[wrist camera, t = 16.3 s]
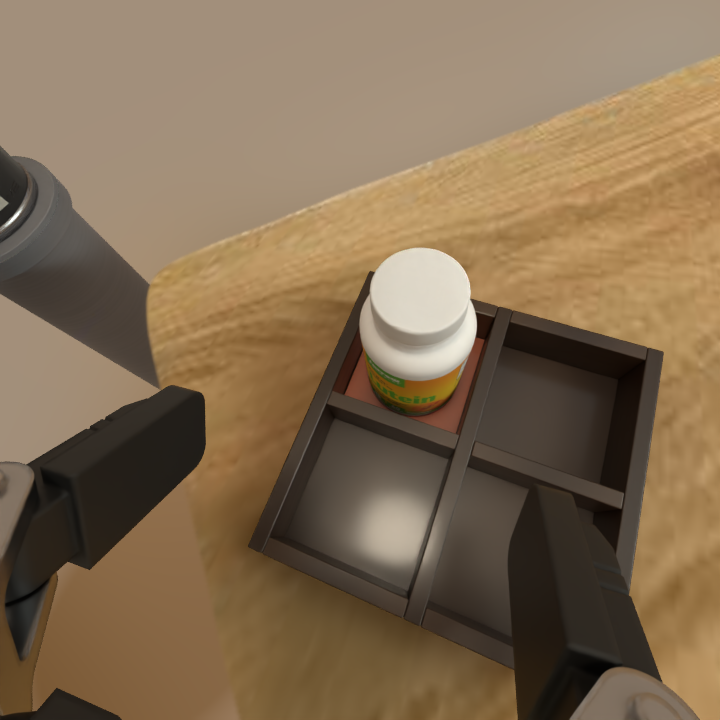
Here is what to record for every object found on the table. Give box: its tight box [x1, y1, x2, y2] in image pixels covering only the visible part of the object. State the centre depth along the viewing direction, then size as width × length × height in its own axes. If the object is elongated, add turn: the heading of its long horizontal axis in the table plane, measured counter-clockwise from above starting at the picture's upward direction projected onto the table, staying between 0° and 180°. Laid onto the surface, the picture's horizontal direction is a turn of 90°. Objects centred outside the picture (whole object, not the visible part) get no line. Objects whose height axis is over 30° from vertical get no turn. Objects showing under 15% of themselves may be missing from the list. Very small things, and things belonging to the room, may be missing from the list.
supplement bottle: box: [359, 248, 477, 416], centre depth 21 cm, size 5×5×10 cm
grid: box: [248, 271, 664, 670], centre depth 22 cm, size 16×16×4 cm
